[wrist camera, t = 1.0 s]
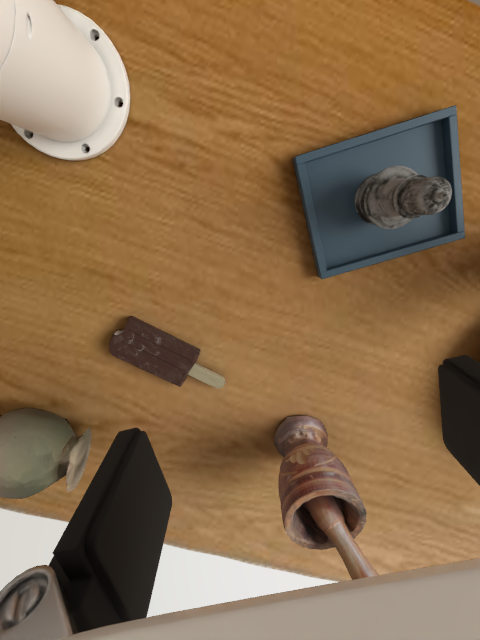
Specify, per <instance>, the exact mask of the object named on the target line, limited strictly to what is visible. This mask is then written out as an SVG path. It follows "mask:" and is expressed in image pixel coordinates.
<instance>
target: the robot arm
mask: <svg viewBox="0 0 480 640" xmlns="http://www.w3.org/2000/svg"><path fill="white" fill-rule="evenodd" d="M97 37H99V39H98V40H97V41H96V38H97ZM121 102H123V106H122V107H120V106H119V104H120V103H121ZM129 108H130V88H129V81H128V77H127V73H126V69H125V66H124V64H123V62H122V59H121V57H120V55H119V53H118V51H117V50H116V48H115V47H114V45H113V44H112V42H111V40H110V39H109V38H108V37H107V35H106V34H105V33H104V32H103V30H102V29H101V28H99V27H98V26H97V25H96V24H95V23H94V22H93V21H92V20H91V19H89V18H88V17H86V16H85V15H83V14H82V13H80V12H79V11H77V10H74V9H72V8H69V7H67V6H63V5H58V4H56V3H55V2H54V1H53V0H0V120H2V121H5V122H7V123H10V124H11V125H12V127H13V128H14V129H15V131H16V132H17V133H18V134H19V135H20V136H21V137H22V138H23V139H24V140H25V141H26V142H27V143H29V144H30V145H32V146H33V147H35V148H36V149H37V150H39V151H41V152H43V153H45V154H48V155H50V156H52V157H56V158H59V159H64V160H71V161H78V160H87V159H90V158H94V157H96V156H98V155H100V154H102V153H104V152H105V151H107V150H108V149H109V148H110V147H111V146H112V145H113V144H114V143H115V142H116V141H117V139H118V138H119V136H120V135H121V133H122V131H123V129H124V127H125V125H126V122H127V118H128V114H129ZM32 133H33V137H32ZM88 147H89V148H90V151H89V152H87V148H88ZM438 375H439V389H440V403H441V418H442V432H443V440H444V443H445V445H446V447H447V449H448V450H449V451H450V453H451V454H452V455H453V456H454V457H455V458H456V459H457V460H458V462H459V463H460V464H461V465H462V466H463V467H464V468H465V470H466V471H467V472H468V473H469V474H470V475H471V476H472V478H473V479H474V480H475V481H476V482H477V483H478V484H479V485H480V363H479V362H477V361H475V360H474V359H472V358H471V357H469V356H467V355H462V356H458V357H453V358H449V359H445V360H444V361H443V365H440V366H439V368H438ZM171 507H172V497H171V493H170V490H169V488H168V485H167V483H166V480H165V478H164V476H163V473H162V471H161V468H160V466H159V463H158V461H157V458H156V456H155V453H154V451H153V449H152V446H151V444H150V441H149V439H148V436H147V434H146V432H145V431H140V429H139V428H133V429H128V430H124V431H120V432H119V433H118V434H117V436H116V438H115V440H114V441H113V443H112V445H111V447H110V449H109V451H108V452H107V454H106V456H105V458H104V460H103V462H102V463H101V465H100V467H99V469H98V471H97V473H96V474H95V476H94V478H93V480H92V482H91V484H90V485H89V487H88V489H87V491H86V493H85V495H84V496H83V498H82V500H81V502H80V504H79V506H78V507H77V509H76V511H75V513H74V515H73V517H72V518H71V520H70V522H69V524H68V526H67V528H66V530H65V531H64V533H63V535H62V537H61V539H60V541H59V542H58V545H57V546H56V548H55V550H54V552H53V554H54V557H53V559H52V560H51V562H50V564H49V566H47V565H42V566H36V567H33V568H31V569H28V570H26V571H25V572H23V573H22V574H20V575H18V576H17V577H15V578H14V579H13V580H12V581H11V582H10V583H8V584H7V585H6V586H5V587H4V588H3V589H2V590H1V591H0V640H480V558H477V559H471V560H465V561H459V562H453V563H447V564H441V565H436V566H430V567H424V568H418V569H412V570H406V571H400V572H395V573H389V574H383V575H378V576H372V577H366V578H361V579H355V580H349V581H344V582H338V583H332V584H327V585H321V586H315V587H310V588H304V589H298V590H293V591H287V592H282V593H276V594H270V595H266V596H260V597H255V598H249V599H244V600H238V601H232V602H227V603H221V604H216V605H211V606H205V607H200V608H194V609H189V610H183V611H178V612H173V613H167V614H162V615H158V616H152V617H148V618H146V616H147V612H148V608H149V603H150V599H151V595H152V590H153V586H154V581H155V577H156V572H157V568H158V563H159V559H160V555H161V551H162V546H163V542H164V538H165V533H166V529H167V524H168V520H169V516H170V511H171Z"/></svg>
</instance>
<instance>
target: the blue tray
mask: <svg viewBox="0 0 480 640" xmlns="http://www.w3.org/2000/svg"><path fill="white" fill-rule="evenodd" d="M456 114H457V110H456V105H455V106H452V107H449V108H445V109H442V110H439V111H436V112H433V113H430V114H427V115H424V116H420V117H417V118H414V119H411V120H408V121H405V122H402V123H398V124H395V125H392V126H389V127H386V128H383V129H380V130H377V131H373V132H370V133H367V134H364V135H361V136H358V137H355V138H352V139H348V140H345V141H342V142H339V143H336V144H333V145H330V146H327V147H323V148H320V149H317V150H314V151H311V152H308V153H305V154H301V155H298V156H295V157H294V158H293V164H294V168H295V173H296V177H297V182H298V187H299V191H300V196H301V200H302V205H303V209H304V214H305V219H306V223H307V228H308V232H309V237H310V241H311V246H312V251H313V255H314V260H315V264H316V269H317V273H318V277H320V278H321V279H324V278H328V277H331V276H335V275H338V274H342V273H345V272H349V271H352V270H355V269H359V268H362V267H366V266H369V265H373V264H376V263H380V262H383V261H387V260H390V259H394V258H397V257H401V256H404V255H408V254H411V253H414V252H418V251H421V250H425V249H428V248H432V247H435V246H439V245H442V244H446V243H449V242H453V241H456V240H460V239H463V238H465V231H464V216H463V201H462V187H461V172H460V157H459V142H458V127H457V115H456ZM392 166H405V167H408V168H411V169H412V170H414V171H415V172H416V173H417V174H418V175H424V176H426V177H428V178H429V177H441V178H444V179H446V180H447V181H448V182H449V183H450V185H451V188H452V195H451V199H450V201H449V203H448V205H447V206H446V207H445V208H444V209H443V210H442V211H440V212H438V213H436V214H432V215H422V216H420V217H418V218H414V219H412V220H411V221H410V222H409V223H408V224H406V225H404V226H402V227H399V228H396V229H384V228H380V227H378V226H376V225H375V224H370V223H367V222H365V221H364V220H362V219H361V218H360V216H359V215H358V214H357V211H356V209H355V195H356V193H357V190H358V188H359V186H360V185H361V183H362V182H363V181H364V180H365V179H366V178H368V177H370V176H371V175H373V174H377V173H379V172H381V171H382V170H384V169H386V168H388V167H392Z"/></svg>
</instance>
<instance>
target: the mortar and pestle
mask: <svg viewBox="0 0 480 640" xmlns="http://www.w3.org/2000/svg"><path fill="white" fill-rule="evenodd" d="M274 443H275V446H276V447H277V449H278V451H279V452H280V454H281V455H282V456H283V457H284V459H283V461H282V463H281V467H280V473H279V496H280V501H281V510H282V519H283V524H284V529H285V531H286V533H287V535H288V536H289V537H290V539H291V540H292V541H293V542H295V543H296V544H298V545H301V546H302V547H307V548H309V549H321V550H322V549H329V548H331V547H332V548H333V547H336V549H337V551H338V552H339V554H340V556H341V558H342V559H343V561H344V564H345V566H346V568H347V570H348V572H349V574H350V576H351V578H352V580H355V579H361V578H366V577H372V576H378V573H377V572H376V570H375V569H374V568H373V566H372V565H371V564H370V563H369V561H368V560H367V558H366V557H365V555H364V554H363V552H362V551H361V549H360V548H359V546H358V545H357V543H356V542H355V540H354V538H355V537H356V536H357V535H358V534H359V533H360V532H361V531H362V529H363V528H364V526H365V523H366V509H365V507H364V504H363V502H362V500H361V498H360V496H359V494H358V492H357V490H356V488H355V487H354V484H353V482H352V479H351V477H350V475H349V473H348V471H347V470H346V468H345V467H344V465H343V463H342V462H341V461H340V460H339V459H338V457H337V456H336V455H335V454H334V453H333V452H332V451H331V450H329V449H328V448H327V432H326V429H325V427H324V425H323V424H322V422H320V421H319V420H318V419H316V418H313V417H310V416H293V417H287V418H286V420H285V421H283V422H282V423H281V425H280V426H279V427H278V429H277V431H276V433H275V437H274Z"/></svg>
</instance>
